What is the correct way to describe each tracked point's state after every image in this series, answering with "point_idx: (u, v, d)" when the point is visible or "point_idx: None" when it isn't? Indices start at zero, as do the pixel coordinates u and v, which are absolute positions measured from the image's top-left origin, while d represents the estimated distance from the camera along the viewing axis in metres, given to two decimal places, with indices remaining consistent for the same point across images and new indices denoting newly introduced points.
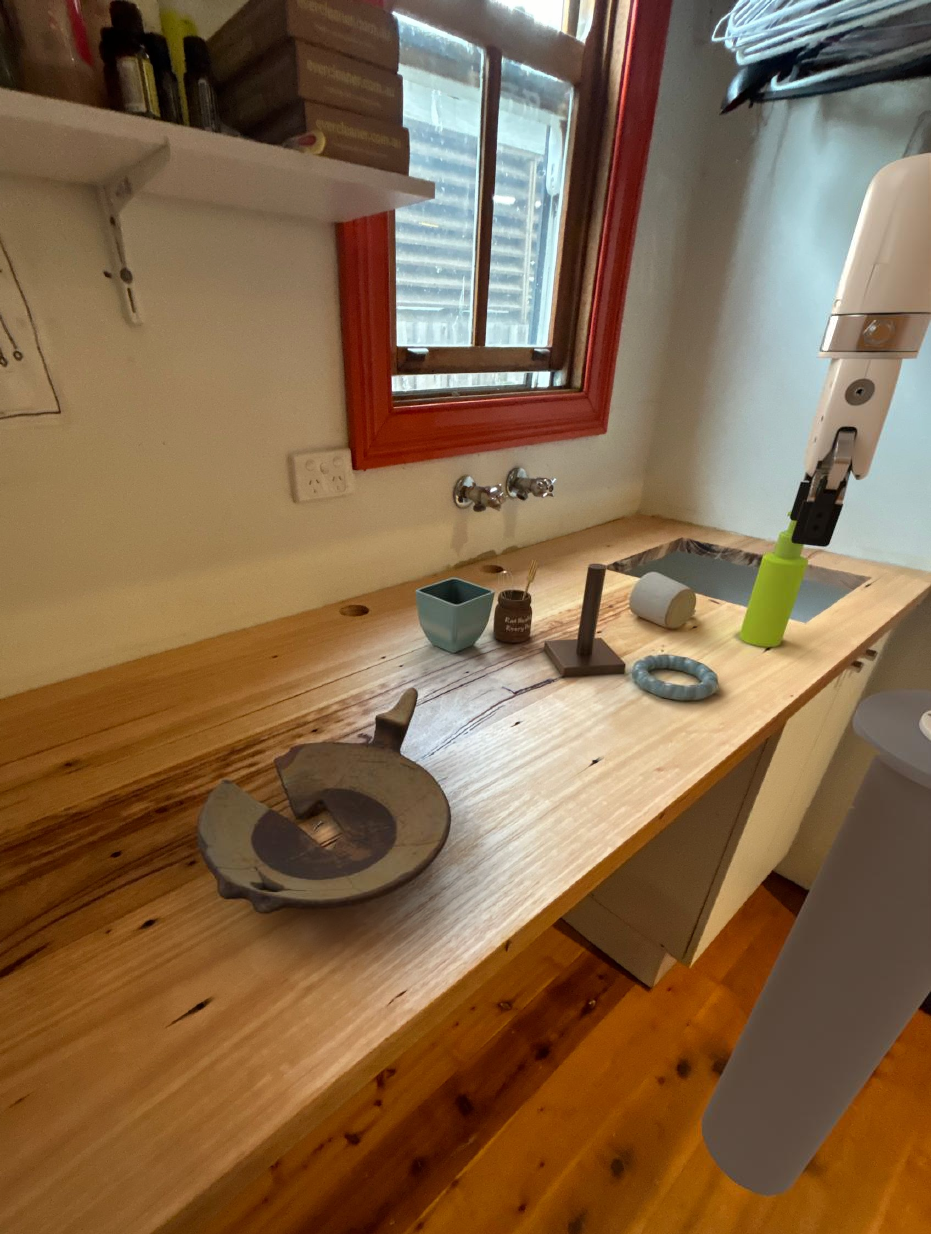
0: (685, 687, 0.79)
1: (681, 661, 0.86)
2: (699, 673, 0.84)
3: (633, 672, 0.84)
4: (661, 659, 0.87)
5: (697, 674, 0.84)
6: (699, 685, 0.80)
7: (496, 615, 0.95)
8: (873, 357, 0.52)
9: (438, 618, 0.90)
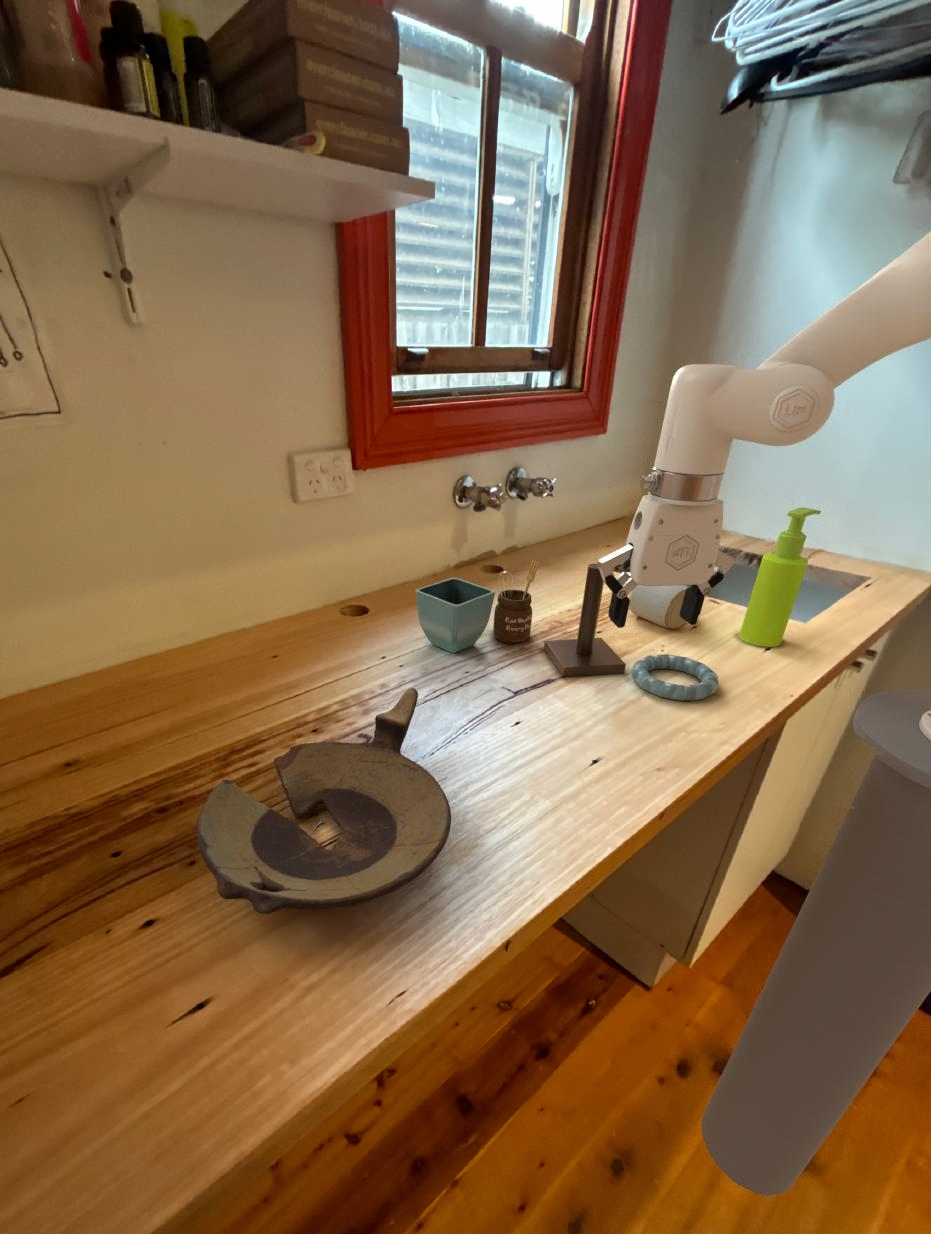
0: (685, 687, 0.79)
1: (681, 661, 0.86)
2: (699, 673, 0.84)
3: (633, 672, 0.84)
4: (661, 659, 0.87)
5: (697, 674, 0.84)
6: (699, 685, 0.80)
7: (496, 615, 0.95)
8: (652, 498, 0.71)
9: (438, 618, 0.90)
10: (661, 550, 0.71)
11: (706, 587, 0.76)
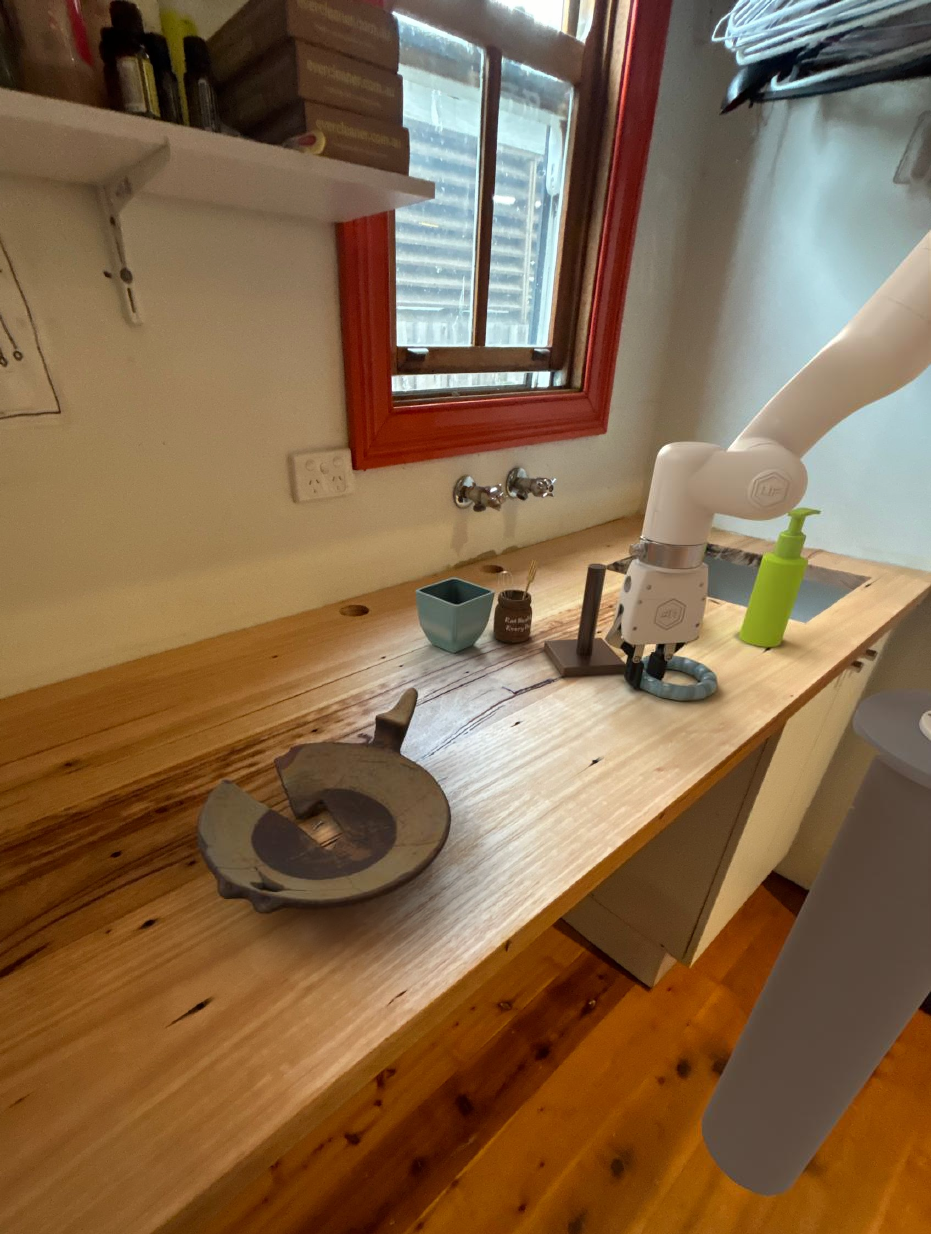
0: (684, 687, 0.79)
1: (680, 661, 0.86)
2: (698, 673, 0.84)
3: None
4: None
5: (696, 674, 0.84)
6: (698, 685, 0.80)
7: (496, 615, 0.95)
8: (640, 564, 0.75)
9: (438, 618, 0.90)
10: (650, 612, 0.75)
11: (670, 653, 0.80)
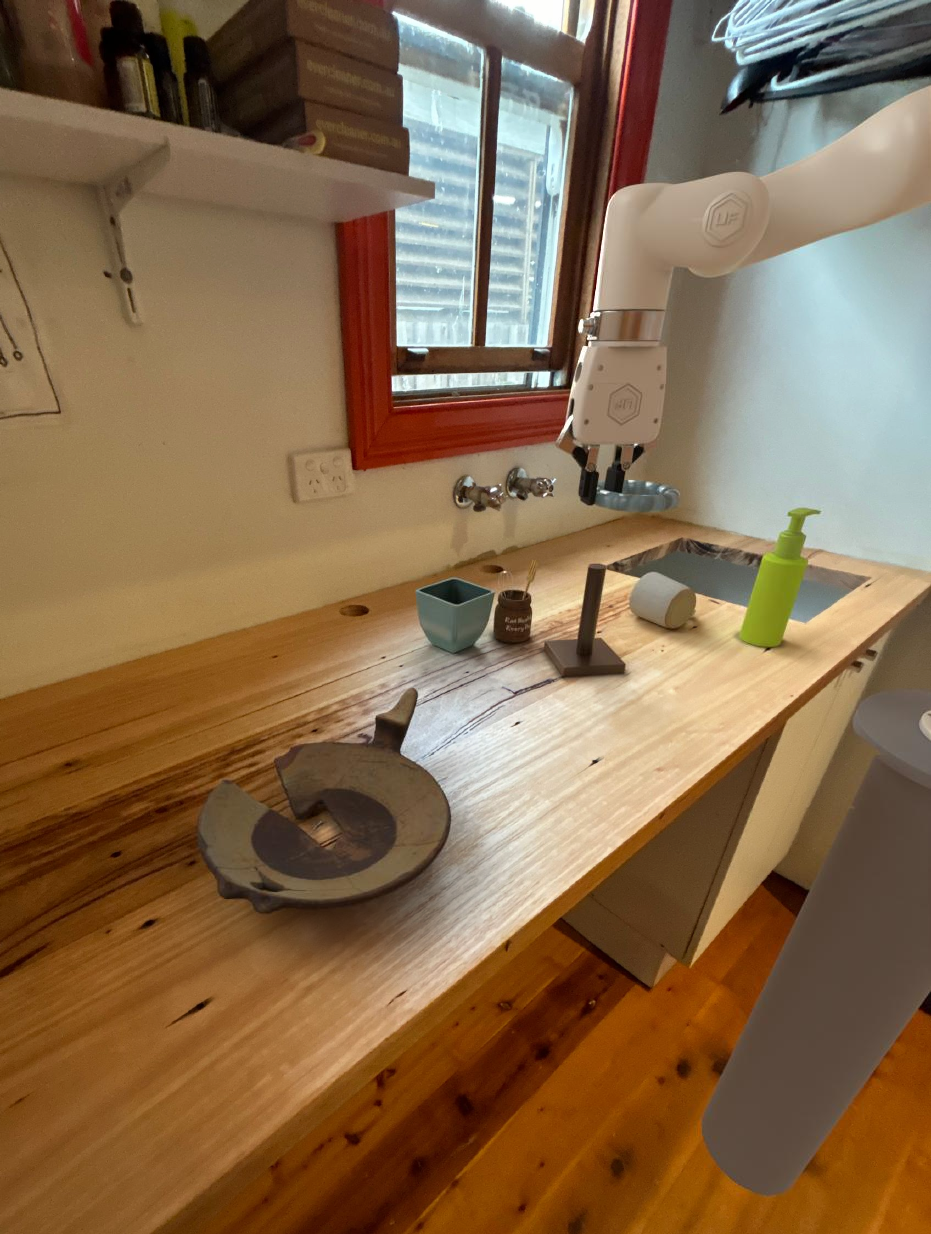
0: (642, 496, 0.72)
1: (641, 484, 0.79)
2: (660, 492, 0.77)
3: None
4: None
5: (658, 494, 0.77)
6: (658, 495, 0.72)
7: (496, 615, 0.95)
8: (591, 345, 0.67)
9: (438, 618, 0.90)
10: (602, 401, 0.68)
11: (627, 461, 0.73)
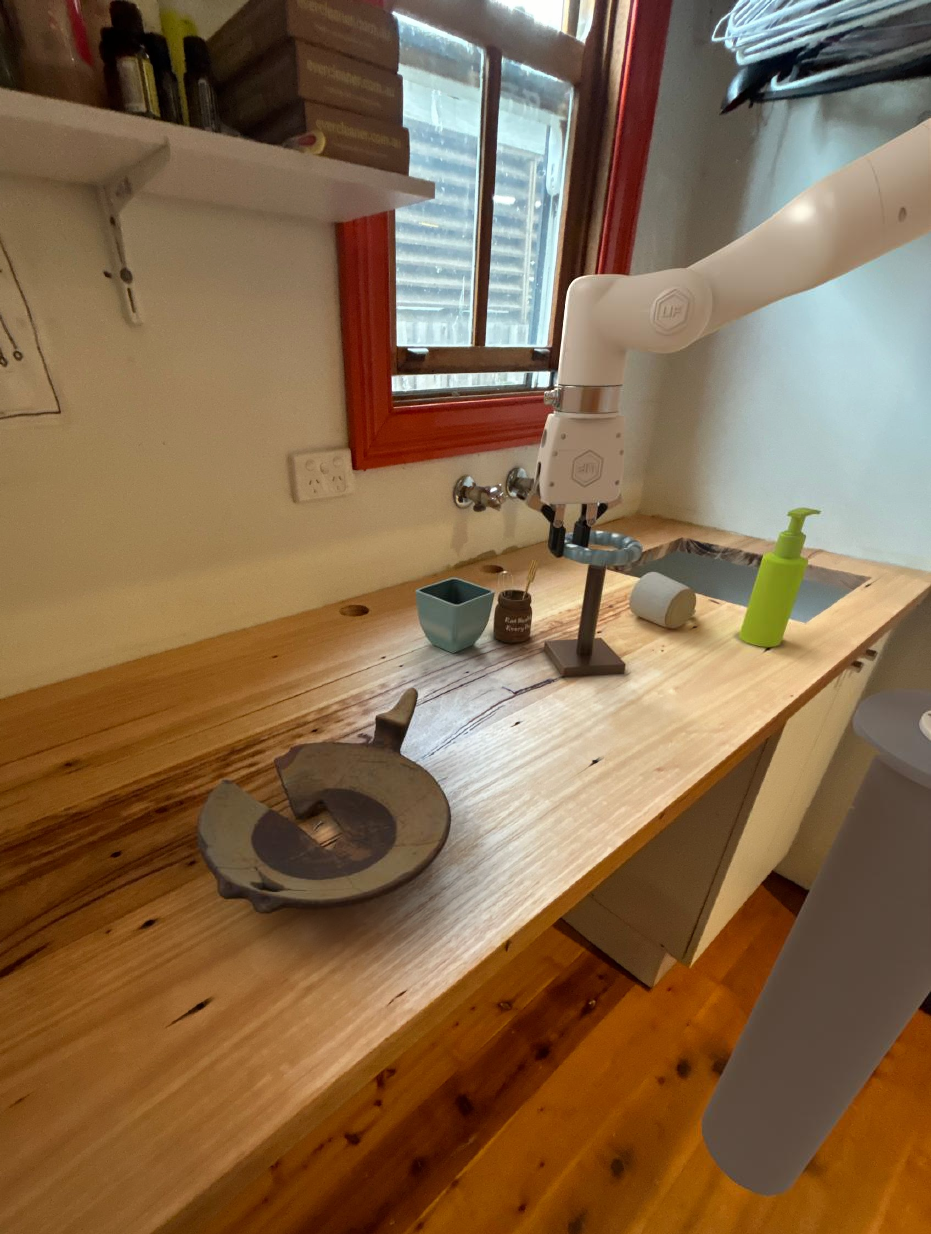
0: (605, 551, 0.77)
1: (608, 536, 0.84)
2: (624, 544, 0.82)
3: None
4: None
5: (623, 546, 0.82)
6: (620, 549, 0.77)
7: (496, 615, 0.95)
8: (555, 414, 0.72)
9: (438, 618, 0.90)
10: (566, 466, 0.73)
11: (592, 518, 0.78)
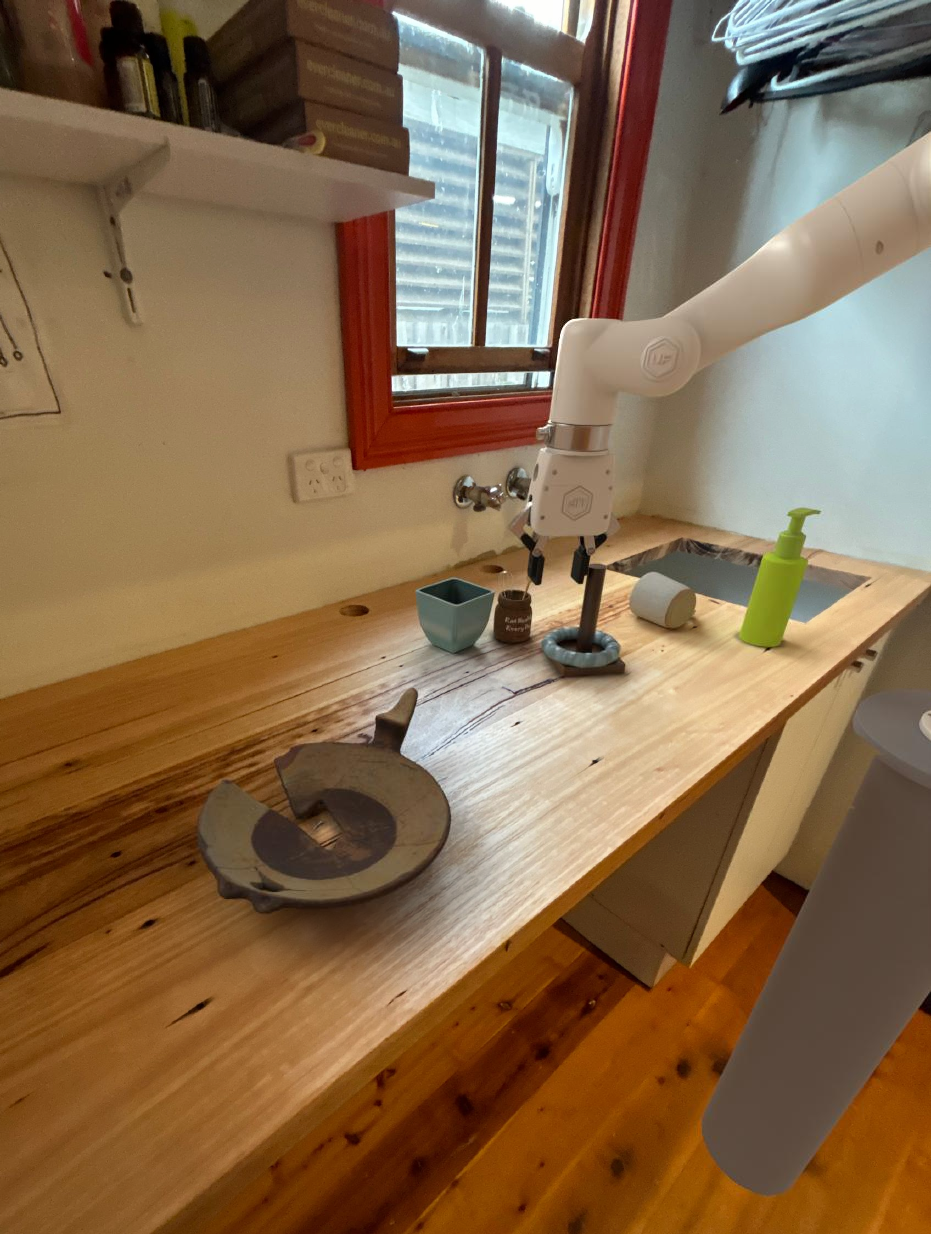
0: (585, 655, 0.84)
1: None
2: (604, 643, 0.89)
3: (542, 643, 0.89)
4: (571, 631, 0.92)
5: (603, 644, 0.89)
6: (599, 653, 0.85)
7: (496, 615, 0.95)
8: (547, 450, 0.74)
9: (438, 618, 0.90)
10: (557, 500, 0.75)
11: (591, 547, 0.80)
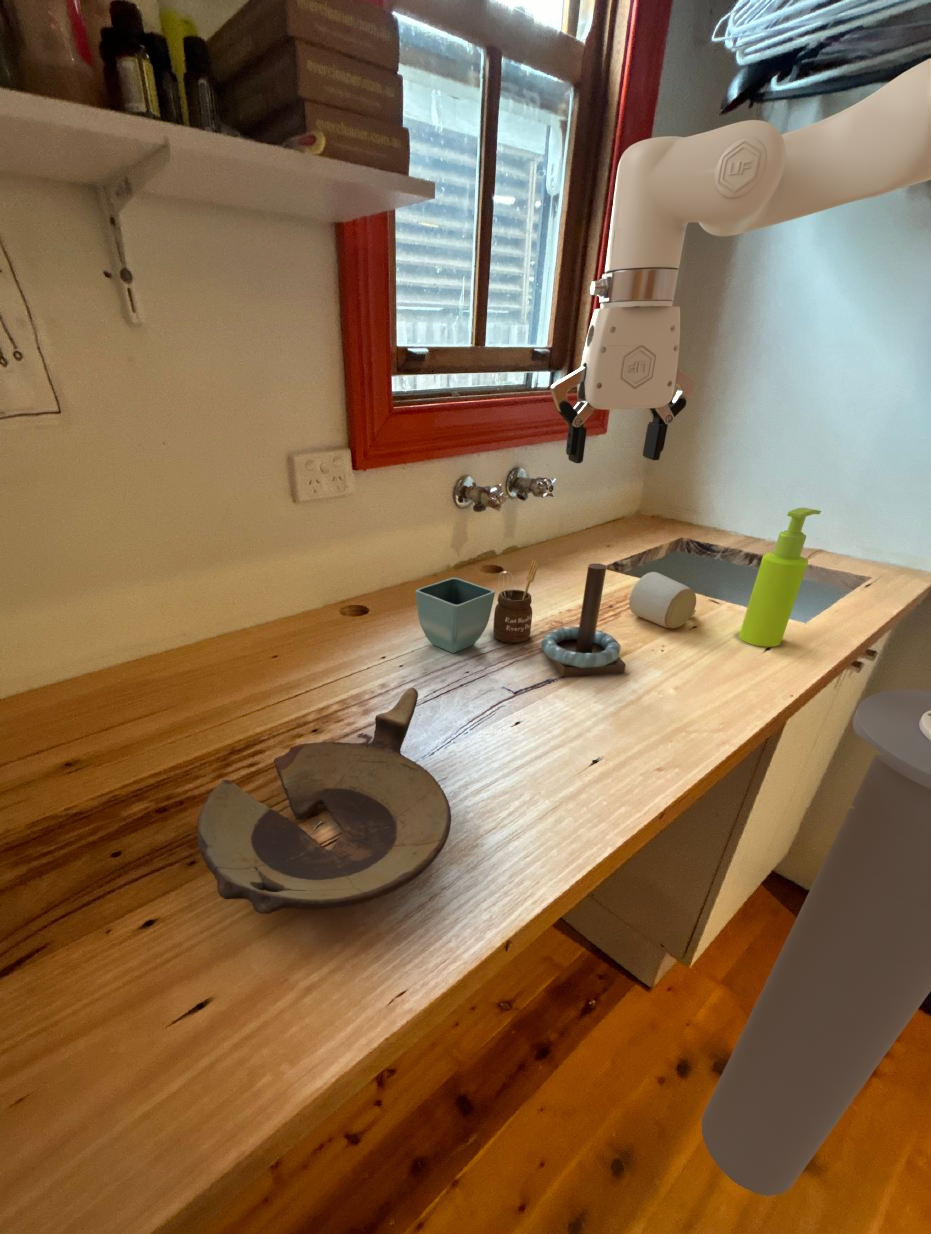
0: (585, 655, 0.84)
1: None
2: (604, 643, 0.89)
3: (542, 643, 0.89)
4: (571, 631, 0.92)
5: (603, 644, 0.89)
6: (599, 653, 0.85)
7: (496, 615, 0.95)
8: (603, 307, 0.66)
9: (438, 618, 0.90)
10: (615, 364, 0.67)
11: (668, 414, 0.72)
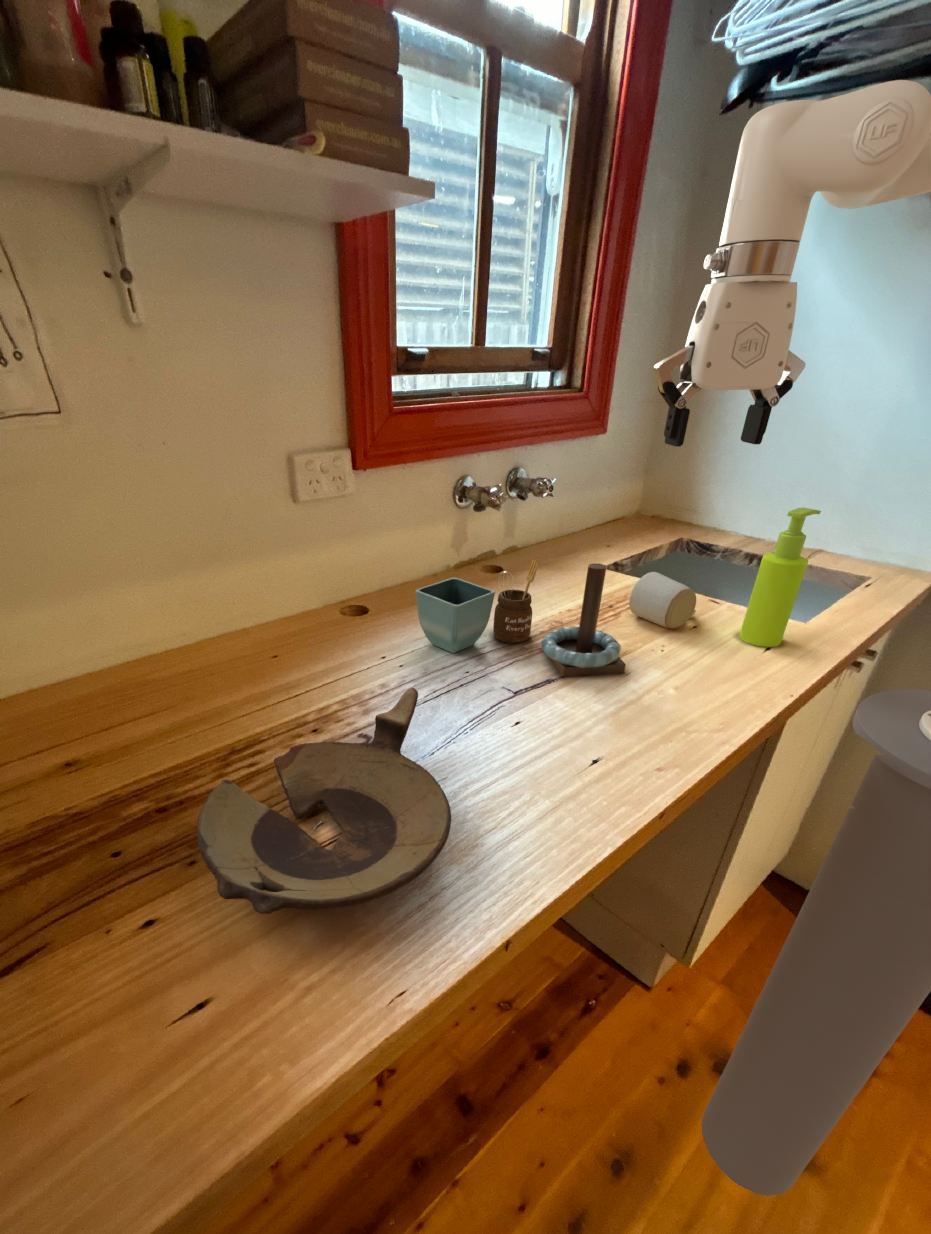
0: (585, 655, 0.84)
1: None
2: (604, 643, 0.89)
3: (542, 643, 0.89)
4: (571, 631, 0.92)
5: (603, 644, 0.89)
6: (599, 653, 0.85)
7: (496, 615, 0.95)
8: (717, 282, 0.64)
9: (438, 618, 0.90)
10: (727, 342, 0.64)
11: (773, 396, 0.69)
